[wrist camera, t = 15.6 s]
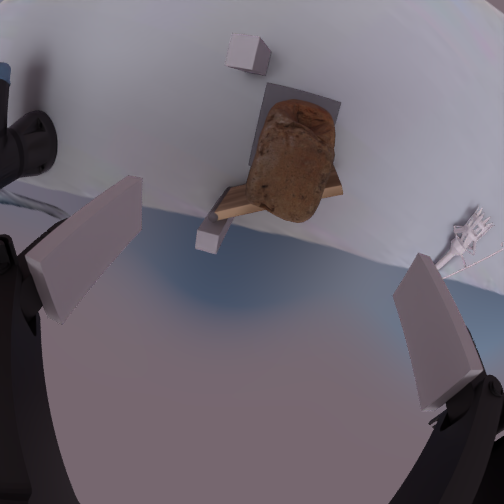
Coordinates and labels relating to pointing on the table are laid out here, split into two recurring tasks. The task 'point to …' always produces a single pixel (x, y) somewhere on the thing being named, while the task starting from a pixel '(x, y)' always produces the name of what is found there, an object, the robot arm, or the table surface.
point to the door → (237, 205)
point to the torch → (459, 246)
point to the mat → (285, 93)
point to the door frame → (248, 60)
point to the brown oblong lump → (292, 160)
